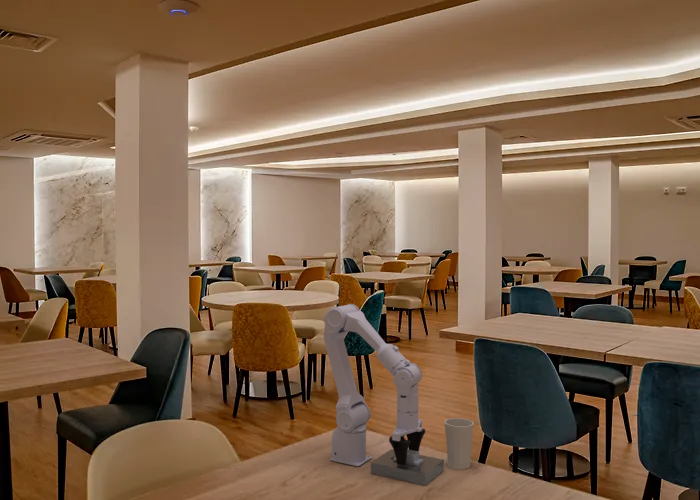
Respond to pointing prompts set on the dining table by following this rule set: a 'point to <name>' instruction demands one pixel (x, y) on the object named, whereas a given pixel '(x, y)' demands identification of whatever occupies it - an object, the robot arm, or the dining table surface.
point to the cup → (458, 442)
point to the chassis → (407, 469)
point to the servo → (412, 458)
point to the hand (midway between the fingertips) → (407, 459)
